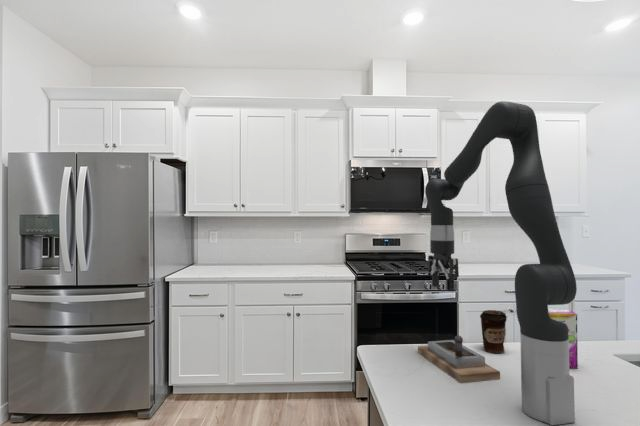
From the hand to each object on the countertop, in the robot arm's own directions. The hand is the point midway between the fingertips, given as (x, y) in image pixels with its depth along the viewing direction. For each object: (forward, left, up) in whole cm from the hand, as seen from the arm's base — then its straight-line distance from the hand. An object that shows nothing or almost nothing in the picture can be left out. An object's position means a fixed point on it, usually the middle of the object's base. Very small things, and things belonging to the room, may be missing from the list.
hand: (442, 288), depth 117 cm
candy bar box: (-15, -28, -22) cm, 38 cm away
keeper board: (-8, +1, -21) cm, 23 cm away
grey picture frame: (-8, +1, -19) cm, 21 cm away
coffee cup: (0, -19, -22) cm, 29 cm away
